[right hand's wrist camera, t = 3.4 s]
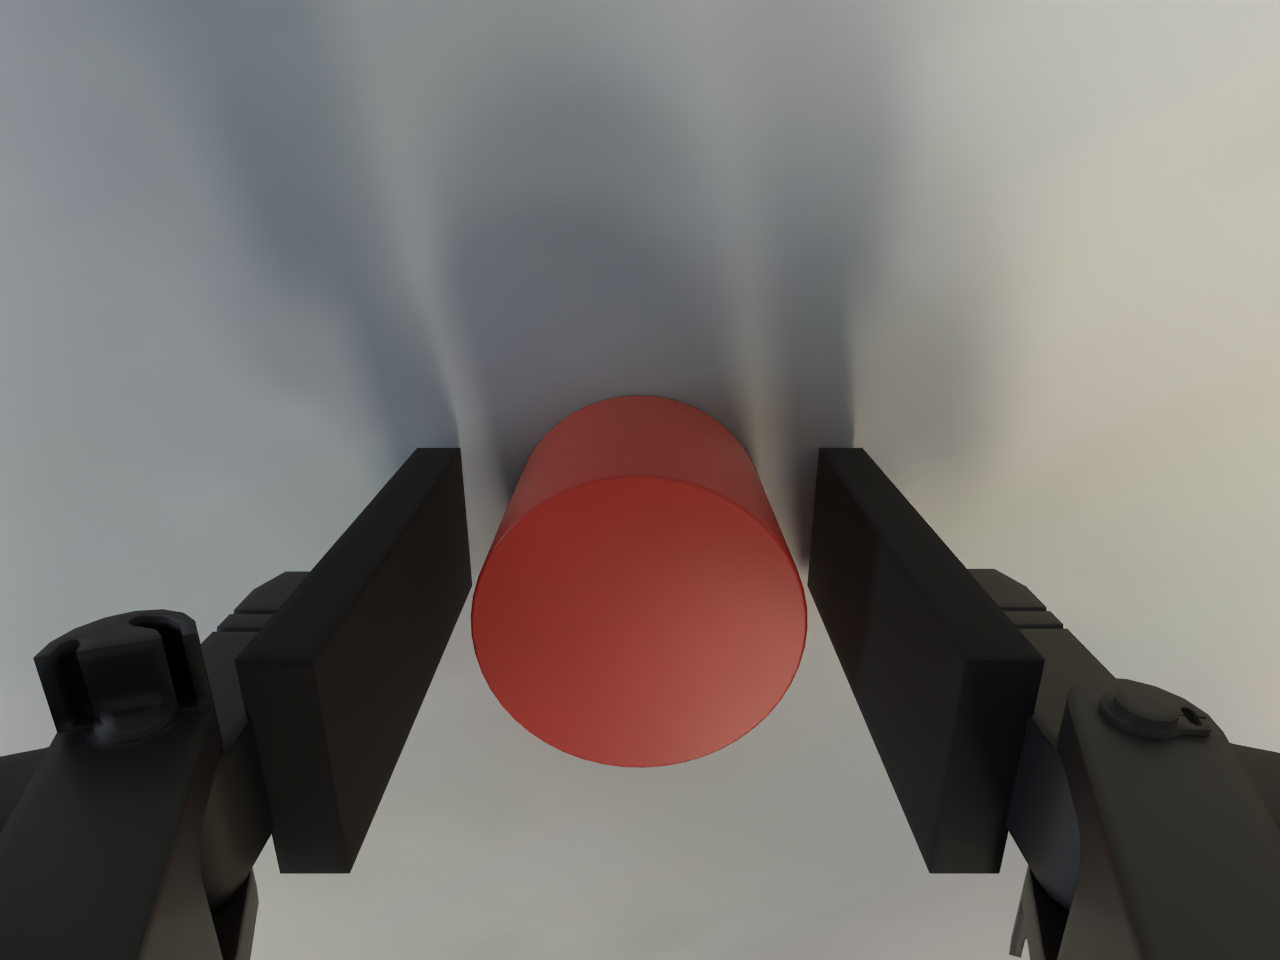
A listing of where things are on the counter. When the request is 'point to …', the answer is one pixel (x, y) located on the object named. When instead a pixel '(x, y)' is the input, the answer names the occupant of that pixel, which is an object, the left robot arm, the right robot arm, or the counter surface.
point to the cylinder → (639, 589)
